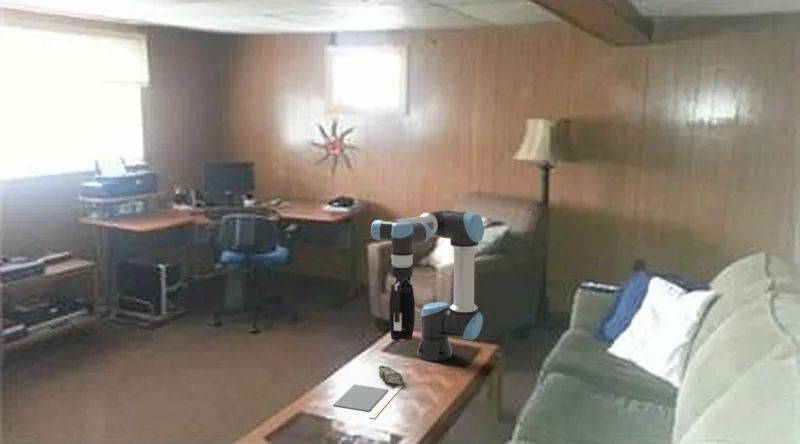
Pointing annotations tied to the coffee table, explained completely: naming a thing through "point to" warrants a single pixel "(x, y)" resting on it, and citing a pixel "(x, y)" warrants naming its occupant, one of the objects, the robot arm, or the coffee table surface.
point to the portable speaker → (403, 314)
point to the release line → (385, 402)
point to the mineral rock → (390, 375)
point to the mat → (361, 397)
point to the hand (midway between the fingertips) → (401, 326)
